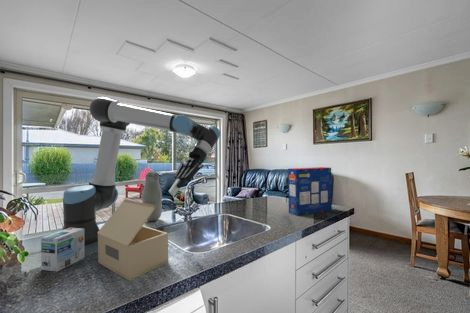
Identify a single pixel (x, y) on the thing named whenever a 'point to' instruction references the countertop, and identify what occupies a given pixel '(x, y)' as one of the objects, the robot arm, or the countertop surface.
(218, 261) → the countertop surface
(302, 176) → the blue product box
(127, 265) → the carton
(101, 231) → the carton flap
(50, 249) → the light bulb box
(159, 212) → the grey vase
